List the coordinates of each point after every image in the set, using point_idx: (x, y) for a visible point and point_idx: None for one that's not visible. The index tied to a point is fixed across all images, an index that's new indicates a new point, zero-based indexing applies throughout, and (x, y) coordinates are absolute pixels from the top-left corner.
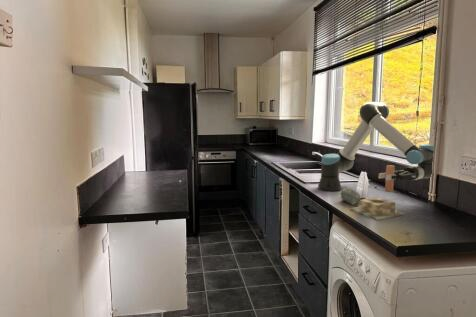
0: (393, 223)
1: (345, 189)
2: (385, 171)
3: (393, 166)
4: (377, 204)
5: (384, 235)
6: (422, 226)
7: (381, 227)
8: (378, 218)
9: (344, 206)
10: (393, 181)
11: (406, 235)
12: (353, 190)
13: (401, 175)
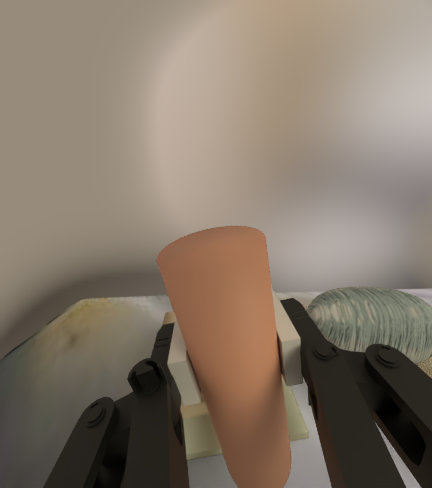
0: (120, 352)
1: (369, 287)
2: (388, 353)
3: (159, 253)
4: (175, 317)
5: (109, 302)
6: (31, 420)
7: (130, 315)
8: (159, 329)
9: None
10: (208, 410)
11: (72, 332)
12: (338, 299)
13: (92, 405)
